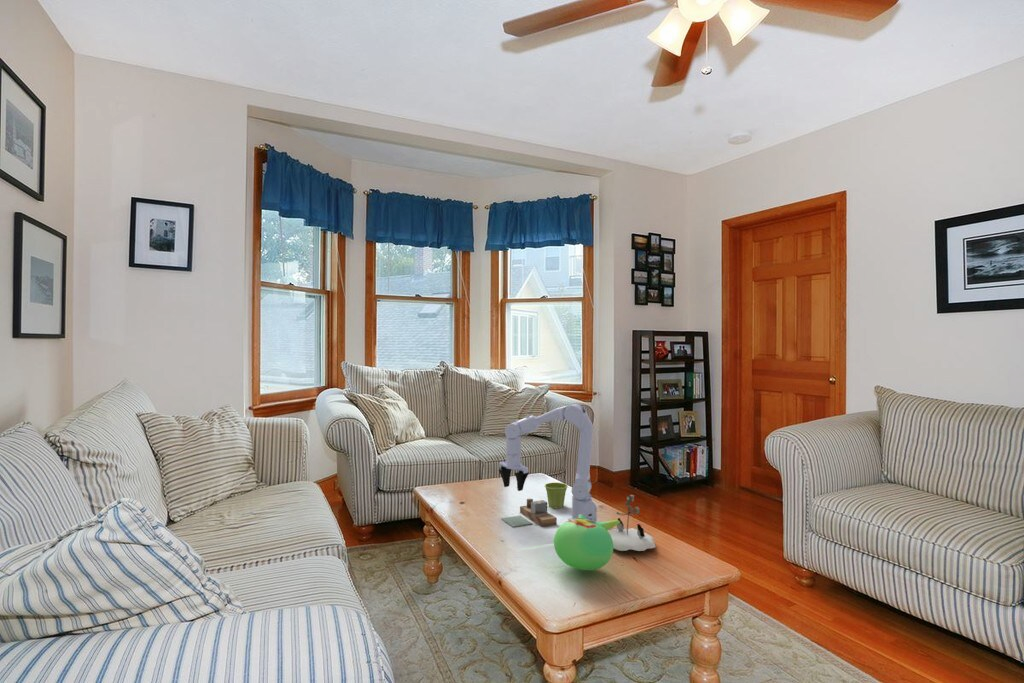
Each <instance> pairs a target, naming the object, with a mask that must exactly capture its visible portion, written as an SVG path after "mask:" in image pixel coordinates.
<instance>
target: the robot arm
mask: <svg viewBox="0 0 1024 683" xmlns="http://www.w3.org/2000/svg"><path fill="white" fill-rule="evenodd" d="M557 419H559V420H566V421H567V422H569V423H570V424H572V425H574V426H575V427H576V428H577V429H578V430H579V442H578V452H577V464H576V466H577V468H576V474H575V478H574V479H575V480H574V483H573V485H572V488H571V494H572V496H571V498H572V499H571V500H572V501H571V505H572V506H571V511H572V513H571V517H568V518H567V521H569V520H572V519H577V518H578V516H579V515H580V514H581V515H583V516H584V517H585V518H586V519H588V520H592V521H594V522H598V519H597V517H598V516H597V515H598V514H597V513H598V512H597V505H596V504H595V502H594V501H593V499H592V494H590V492H591V489H592V486H593V485H592V482H591V475H590V471H591V470H590V468H591V457H592V447H593V446H592V445H593V433H594V424H593V423H592V420H591V418H590V416H589V414H588V411H587V410H586V408H584V407H583V406H582V405H581V404H580V403H577V402H576V403H572V404H569V405H564V406H561V407H560V406H559V407H557V408H555V409H552V410H550V411H548V412H545V413H543V414H540V415H538V416H535V415H533V414H528V415H526V416H525V417H524V418H522V419H519V420H518V419H516V420H514V422H511V423H509V424H508V425H506V426H505V428H504V435H505V437H506V442H505V446H506V447H505V449H506V450H505V461H500V462H499V463H498V464H499V465H498V467H499V468H498V472H499V475H500V476H501V478H502V482H503V487H504V488H507V487H510V483H511V473H512V471H516V472H515V473H514V475H515V480H516V489H517V492H520V491H523V489H524V485H525V482H526V479H527V477H528V476H529V467H528V466H525V465H523V464H522V456H521V455H522V454H521V453H522V452H521V451H522V449H521V448H522V440H521V439H522V438H521V435H526V434H529V433H531V432H535V431H536V430H538V429H539V427H540V426H541V425H543V424H545V423H547V422H551V421H554V420H557Z"/></svg>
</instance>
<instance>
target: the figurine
mask: <svg viewBox="0 0 1024 683" xmlns="http://www.w3.org/2000/svg"><path fill="white" fill-rule="evenodd" d="M634 499H635V494H630V495H629V496H626V503H625V506H626V507H627V508H628V509H627V513H621V512H619V511H616V513H615V514H616V515H620V516H625V517H626V516H627V523H626V524H627V526H626V528H625V526H624V525H625V524H624V523H623V520H621V518H617V520H619V521H620V523H619V524H618V525H616V528H610V529H609V530H607V531H608V532H609V533H610V535H611V537H612V540H613V546H614V548H613V550H616V551H621V552H624V551H628V550H633V551H638V552H641V551H643V552H644V551H646V550H647V549H654V548H657V547H656V544H655V540H654V537H653V536H651V535H649V534H648V533H646V532H645V531H644V528H643V527H642V526H641V524H639V523H637V524H636V526H637V527H636V528H633V527H631V528H629V521H630V520H629V519H630V514H631V515H632V514H633V515H639V514H640V508H639V507H638V506H635V507H632V506H631V504H630V503H631V502H634V501H635V500H634ZM630 511H631V512H630Z"/></svg>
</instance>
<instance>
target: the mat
mask: <svg viewBox="0 0 1024 683" xmlns="http://www.w3.org/2000/svg"><path fill="white" fill-rule="evenodd" d="M501 521H503V522H504V523H506V524H507V525H509V526H510V527H511V528H517V527H525V526H529V525H533V522H531V521H530V520H528V518H525V517H523V516H522V515H514V516H507V517H501Z"/></svg>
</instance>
